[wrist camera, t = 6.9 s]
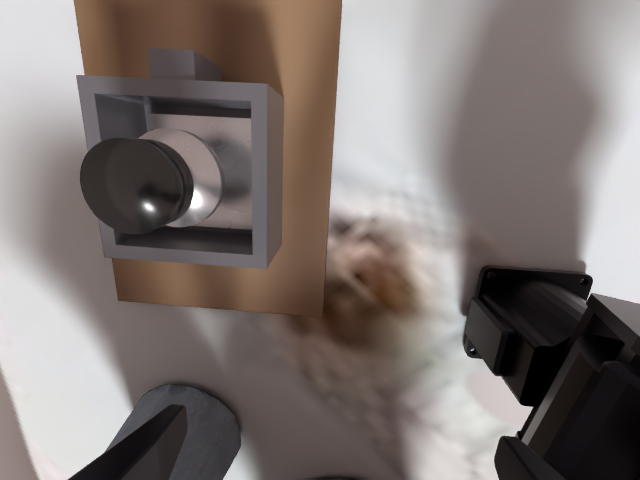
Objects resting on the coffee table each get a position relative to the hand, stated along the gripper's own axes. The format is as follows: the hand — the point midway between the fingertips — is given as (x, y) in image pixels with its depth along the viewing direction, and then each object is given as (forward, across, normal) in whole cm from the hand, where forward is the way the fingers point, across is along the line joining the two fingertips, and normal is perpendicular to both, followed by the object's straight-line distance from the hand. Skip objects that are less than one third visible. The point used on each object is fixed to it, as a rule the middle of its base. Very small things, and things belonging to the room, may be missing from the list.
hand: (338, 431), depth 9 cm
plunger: (+11, +8, -6) cm, 15 cm away
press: (+11, +8, -6) cm, 15 cm away
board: (+12, +8, -6) cm, 16 cm away
